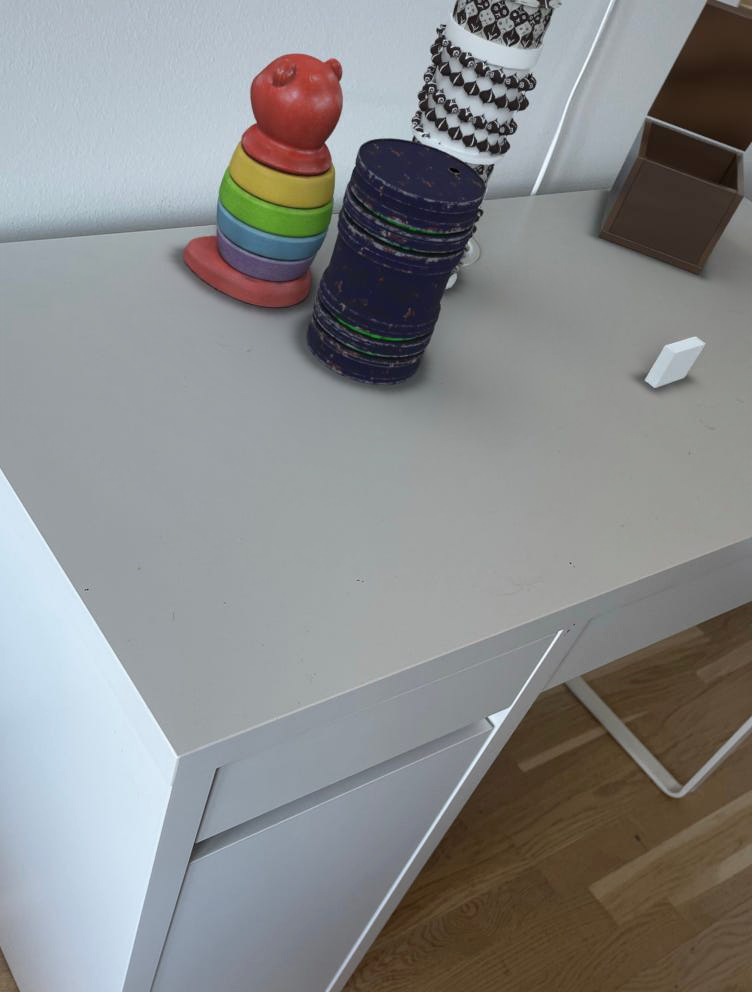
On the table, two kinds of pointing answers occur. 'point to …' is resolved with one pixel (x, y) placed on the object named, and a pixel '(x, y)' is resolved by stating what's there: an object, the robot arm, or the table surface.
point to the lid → (712, 77)
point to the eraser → (674, 361)
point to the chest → (673, 196)
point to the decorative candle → (480, 82)
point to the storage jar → (392, 259)
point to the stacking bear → (276, 187)
